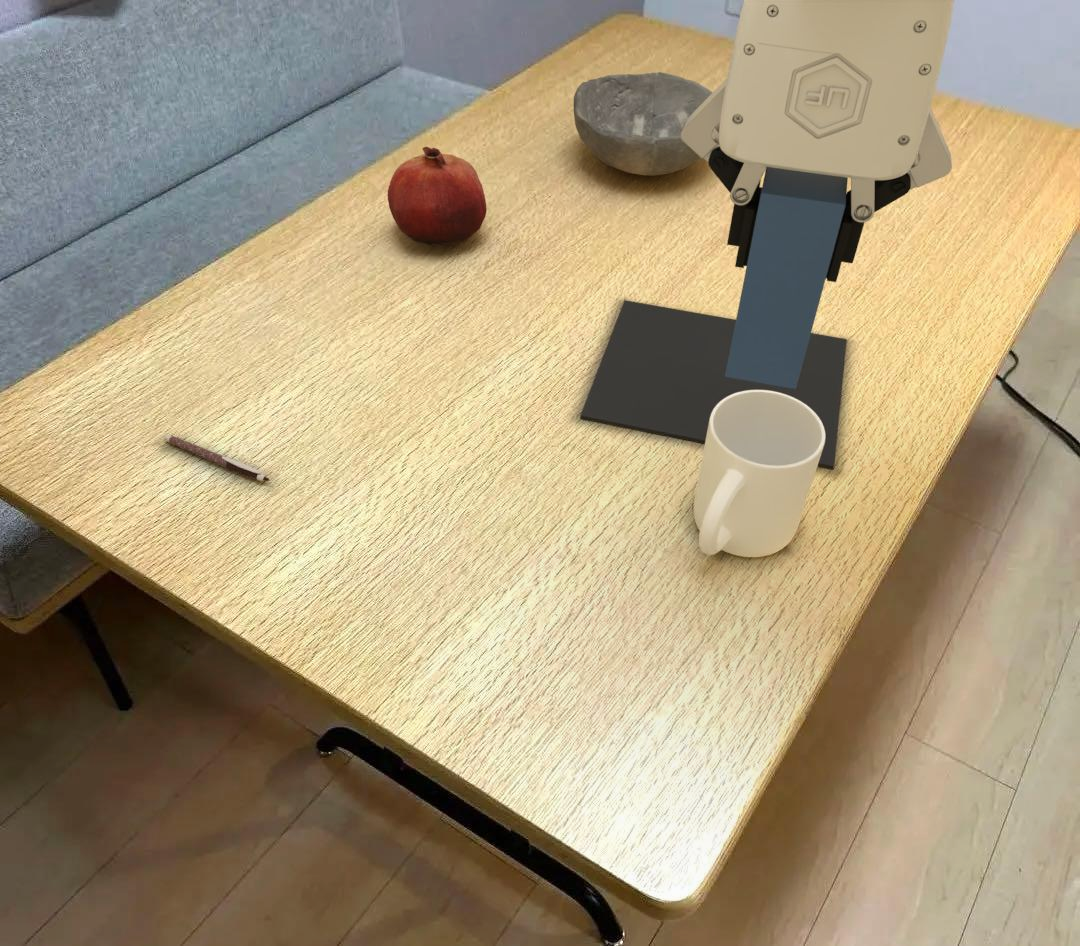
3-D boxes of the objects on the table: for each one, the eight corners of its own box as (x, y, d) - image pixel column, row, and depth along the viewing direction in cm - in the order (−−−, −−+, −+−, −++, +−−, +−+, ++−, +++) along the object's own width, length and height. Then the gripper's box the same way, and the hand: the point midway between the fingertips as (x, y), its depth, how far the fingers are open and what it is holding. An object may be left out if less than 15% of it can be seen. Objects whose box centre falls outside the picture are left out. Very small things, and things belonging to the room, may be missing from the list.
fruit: (374, 249, 102) (363, 162, 95) (419, 205, 108) (412, 121, 101) (462, 272, 99) (457, 185, 92) (503, 226, 105) (502, 141, 98)
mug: (742, 611, 69) (767, 518, 62) (646, 557, 73) (660, 463, 65) (814, 513, 76) (845, 419, 69) (723, 469, 79) (744, 374, 72)
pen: (272, 480, 78) (270, 472, 77) (266, 486, 77) (263, 478, 77) (167, 436, 81) (164, 427, 81) (161, 441, 81) (157, 433, 80)
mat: (845, 342, 92) (846, 338, 91) (833, 469, 80) (834, 466, 79) (624, 303, 96) (624, 299, 95) (580, 418, 84) (580, 415, 83)
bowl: (725, 202, 110) (736, 136, 104) (573, 200, 110) (576, 134, 104) (706, 129, 122) (715, 67, 116) (570, 128, 122) (572, 66, 116)
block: (800, 346, 63) (848, 165, 54) (795, 389, 60) (845, 204, 51) (733, 335, 64) (768, 154, 54) (724, 377, 61) (761, 192, 51)
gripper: (668, -72, 42) (635, 274, 55) (1071, -34, 39) (935, 322, 52) (693, -117, 47) (657, 210, 60) (1052, -87, 44) (932, 250, 57)
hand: (787, 259), depth 56 cm, fingers closed on block, 4 cm apart
